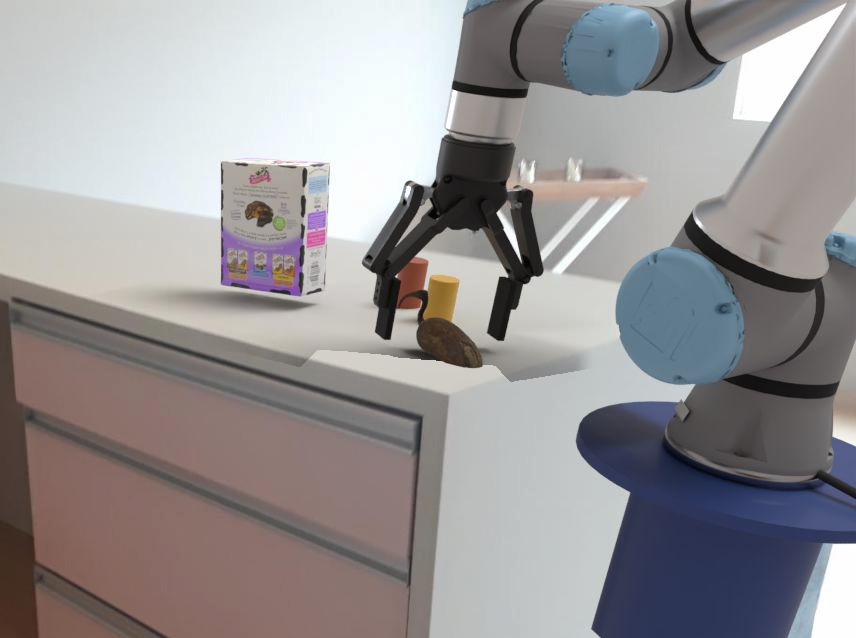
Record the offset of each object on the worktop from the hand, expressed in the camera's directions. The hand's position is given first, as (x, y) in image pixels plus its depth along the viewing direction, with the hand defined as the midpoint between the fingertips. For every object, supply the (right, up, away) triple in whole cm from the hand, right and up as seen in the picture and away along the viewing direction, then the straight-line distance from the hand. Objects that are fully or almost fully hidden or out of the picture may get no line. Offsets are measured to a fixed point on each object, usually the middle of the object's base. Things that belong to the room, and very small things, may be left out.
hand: (439, 336), depth 127 cm
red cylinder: (+1, +7, +24) cm, 25 cm away
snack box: (-16, +11, +27) cm, 33 cm away
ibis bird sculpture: (0, -4, +2) cm, 4 cm away
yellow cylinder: (+3, +3, +16) cm, 17 cm away
